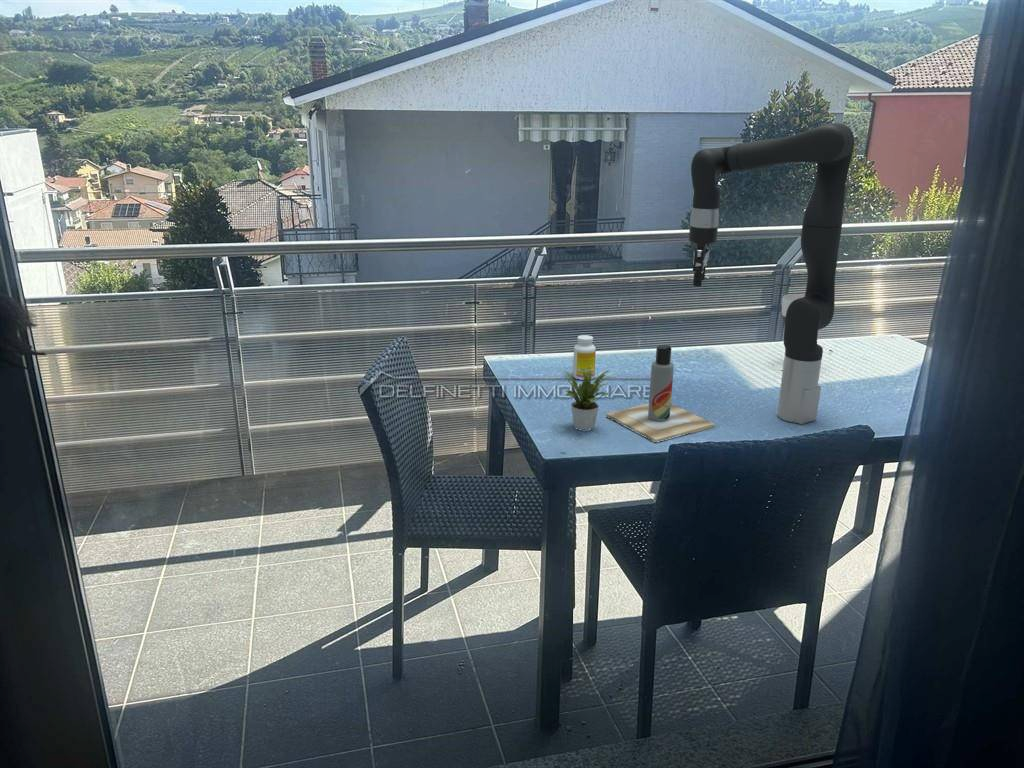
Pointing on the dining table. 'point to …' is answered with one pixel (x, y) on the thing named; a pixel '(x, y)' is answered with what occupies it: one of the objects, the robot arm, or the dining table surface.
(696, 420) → the dock
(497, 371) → the dining table surface
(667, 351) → the lotion bottle
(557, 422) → the dining table surface
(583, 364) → the supplement bottle
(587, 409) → the house plant
